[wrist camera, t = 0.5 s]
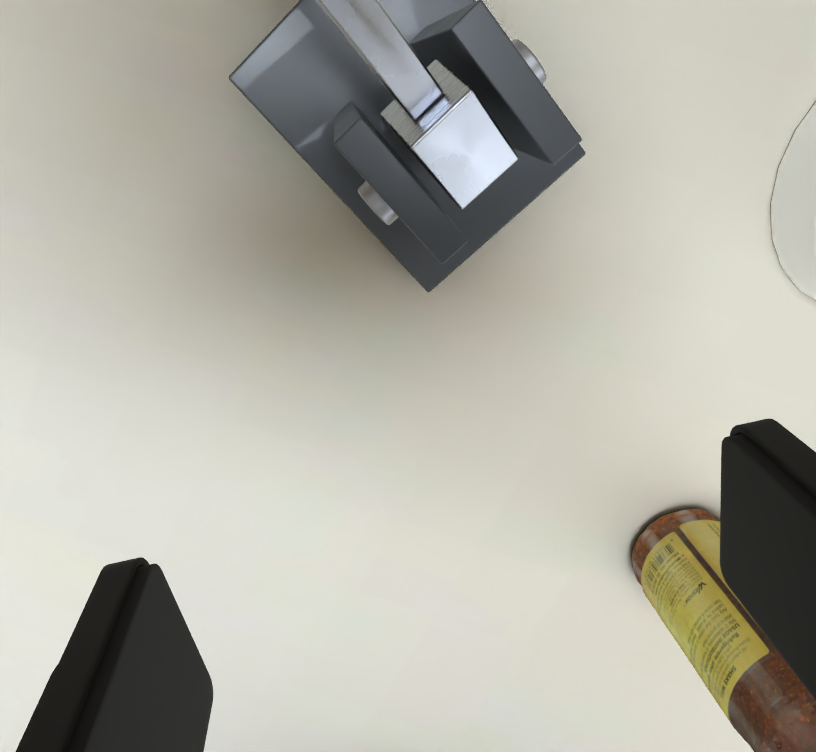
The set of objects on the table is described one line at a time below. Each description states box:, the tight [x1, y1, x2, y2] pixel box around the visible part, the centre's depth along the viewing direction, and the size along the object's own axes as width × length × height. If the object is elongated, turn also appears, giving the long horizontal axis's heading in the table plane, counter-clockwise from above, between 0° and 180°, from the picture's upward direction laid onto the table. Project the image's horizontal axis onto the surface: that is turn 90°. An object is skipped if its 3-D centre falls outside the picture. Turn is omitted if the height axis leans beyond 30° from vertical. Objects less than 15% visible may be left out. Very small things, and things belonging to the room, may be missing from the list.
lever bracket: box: [229, 0, 585, 292], centre depth 23 cm, size 12×9×12 cm
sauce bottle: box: [632, 508, 816, 752], centre depth 31 cm, size 6×6×20 cm
